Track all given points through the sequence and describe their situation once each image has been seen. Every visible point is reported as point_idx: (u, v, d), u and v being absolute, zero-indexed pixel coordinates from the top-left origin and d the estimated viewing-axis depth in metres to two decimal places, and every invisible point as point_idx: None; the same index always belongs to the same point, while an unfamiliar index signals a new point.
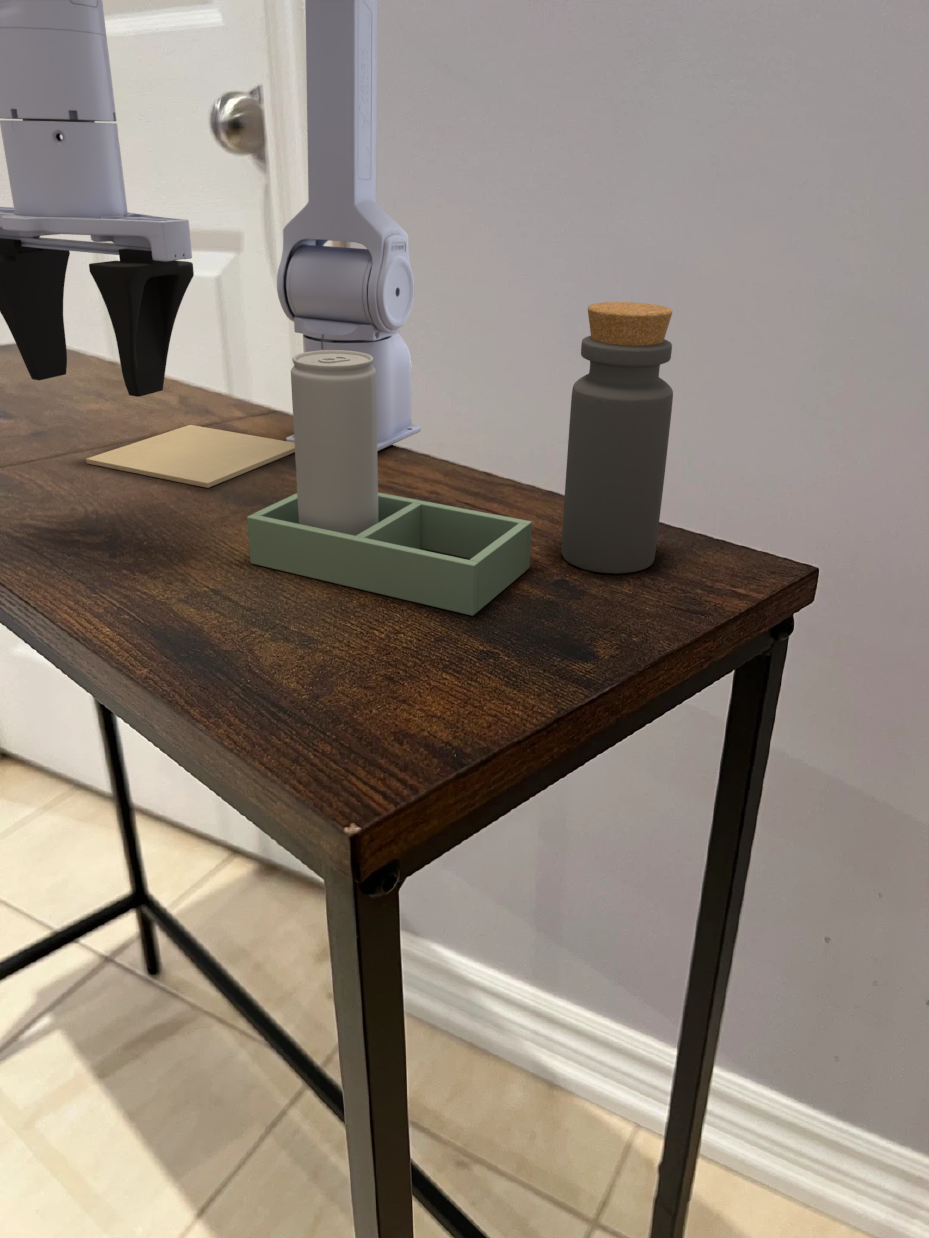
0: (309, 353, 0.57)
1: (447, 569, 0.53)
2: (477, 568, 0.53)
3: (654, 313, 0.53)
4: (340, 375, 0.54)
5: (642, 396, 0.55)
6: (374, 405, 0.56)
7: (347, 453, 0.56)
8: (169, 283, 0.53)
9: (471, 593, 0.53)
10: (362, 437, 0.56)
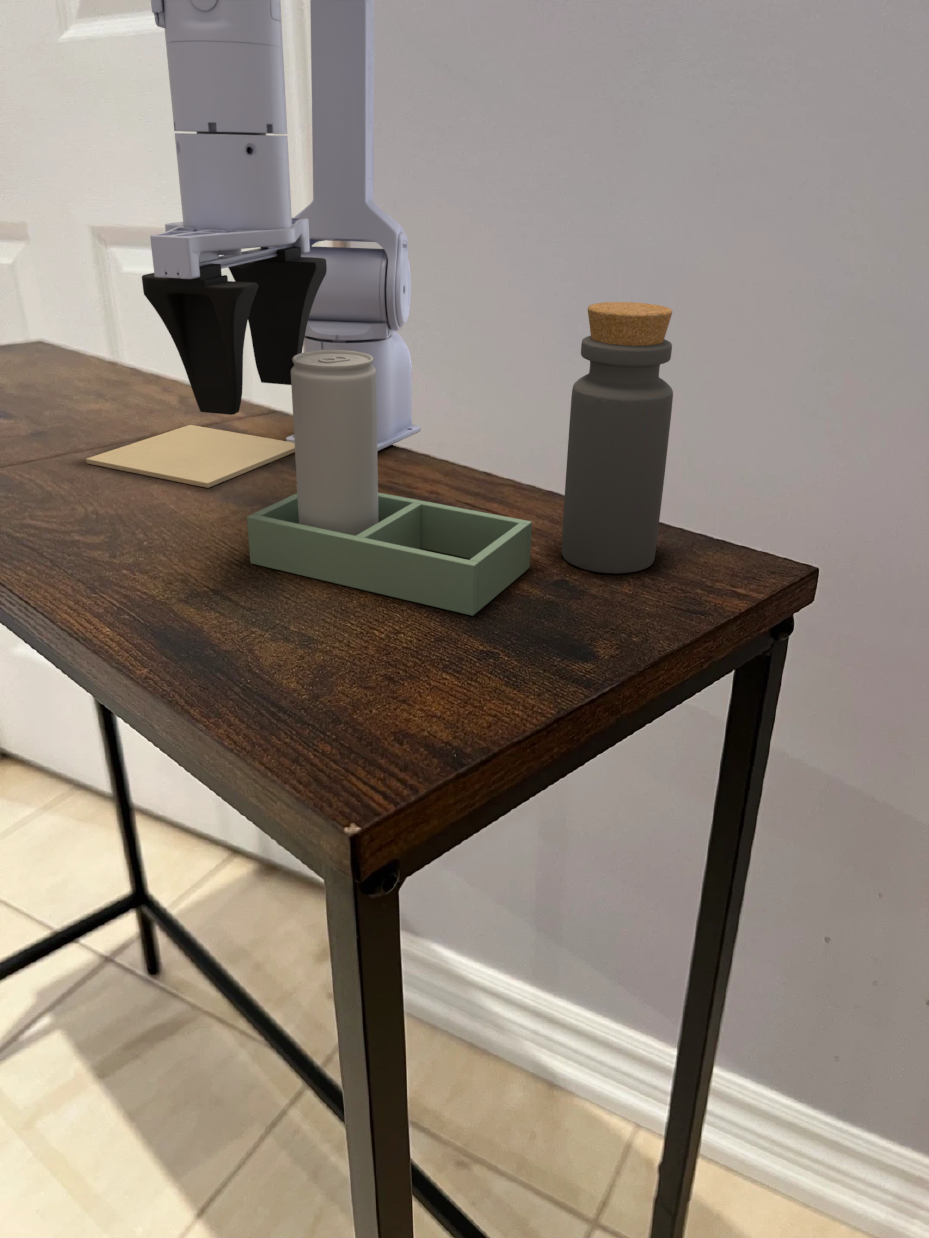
0: (309, 353, 0.57)
1: (447, 569, 0.53)
2: (477, 568, 0.53)
3: (654, 313, 0.53)
4: (341, 375, 0.54)
5: (642, 396, 0.55)
6: (374, 405, 0.56)
7: (347, 453, 0.56)
8: None
9: (471, 593, 0.53)
10: (363, 437, 0.56)
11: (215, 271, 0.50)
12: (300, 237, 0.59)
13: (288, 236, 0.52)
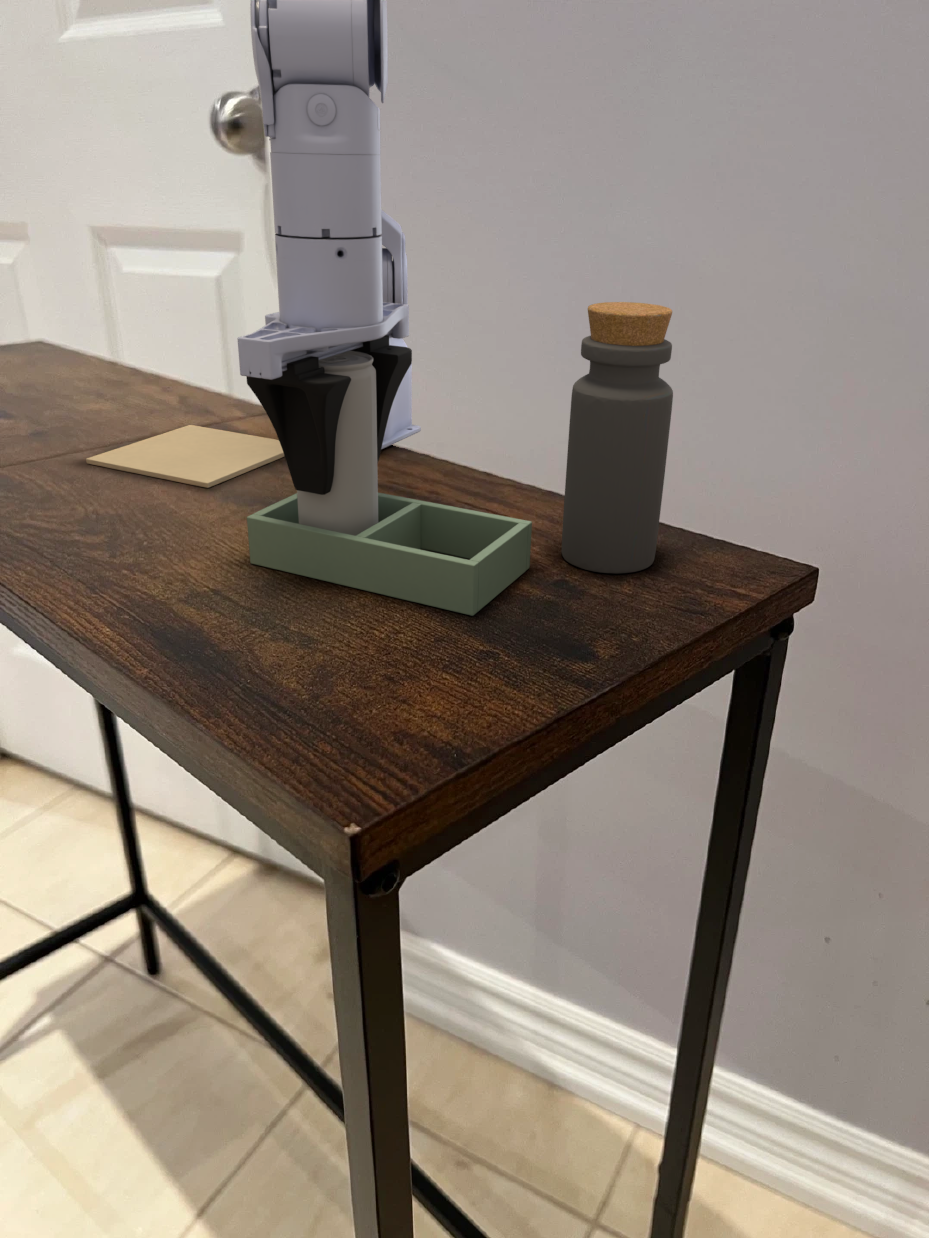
0: None
1: (447, 569, 0.53)
2: (477, 568, 0.53)
3: (654, 313, 0.53)
4: None
5: (642, 396, 0.55)
6: (374, 405, 0.56)
7: (347, 453, 0.56)
8: None
9: (471, 593, 0.53)
10: (362, 437, 0.56)
11: (312, 364, 0.53)
12: (399, 323, 0.60)
13: (376, 332, 0.54)
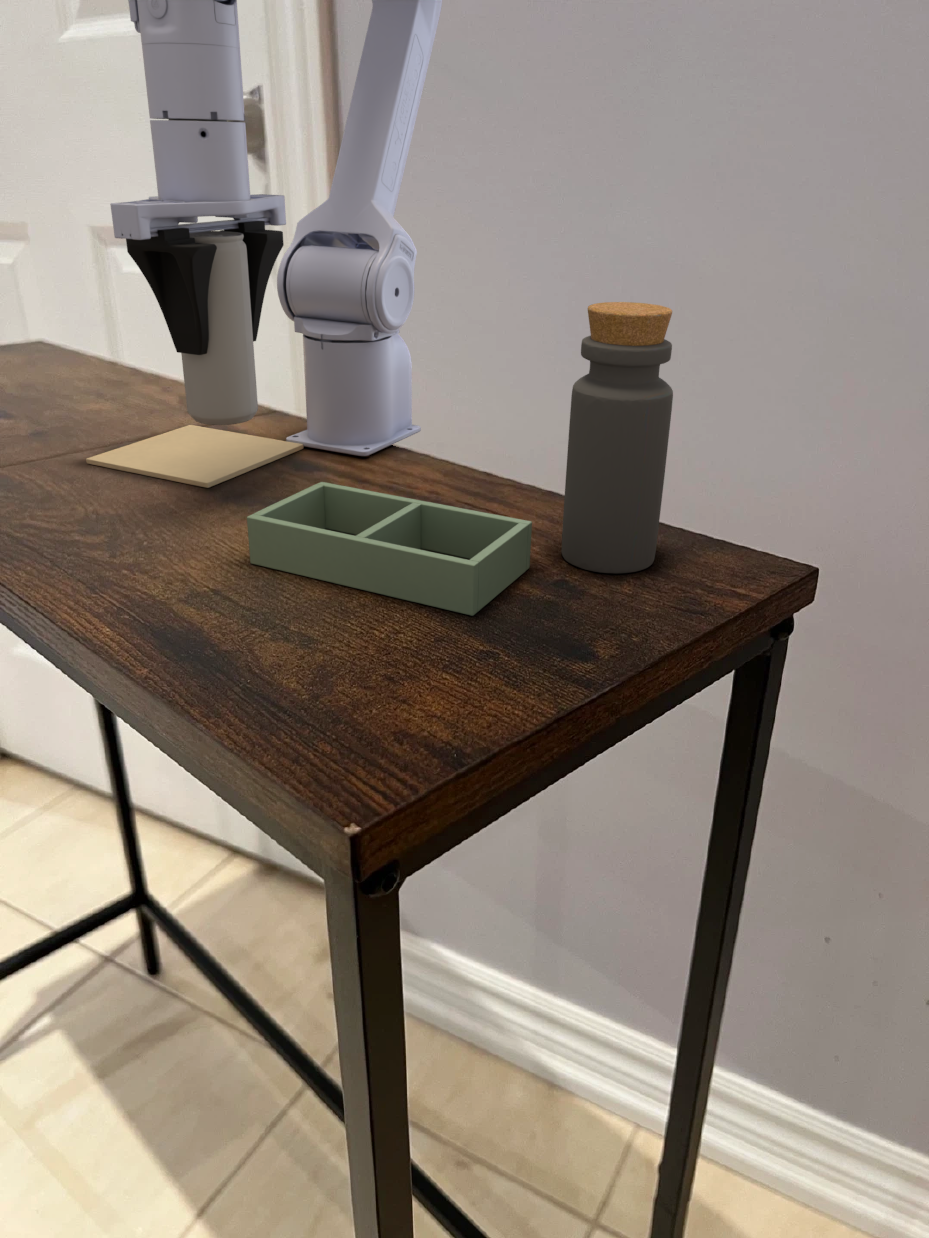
0: None
1: (447, 569, 0.53)
2: (477, 568, 0.53)
3: (654, 313, 0.53)
4: None
5: (642, 395, 0.55)
6: (245, 277, 0.64)
7: (219, 318, 0.64)
8: None
9: (471, 593, 0.53)
10: (234, 305, 0.64)
11: (182, 233, 0.60)
12: (274, 211, 0.68)
13: (240, 207, 0.61)
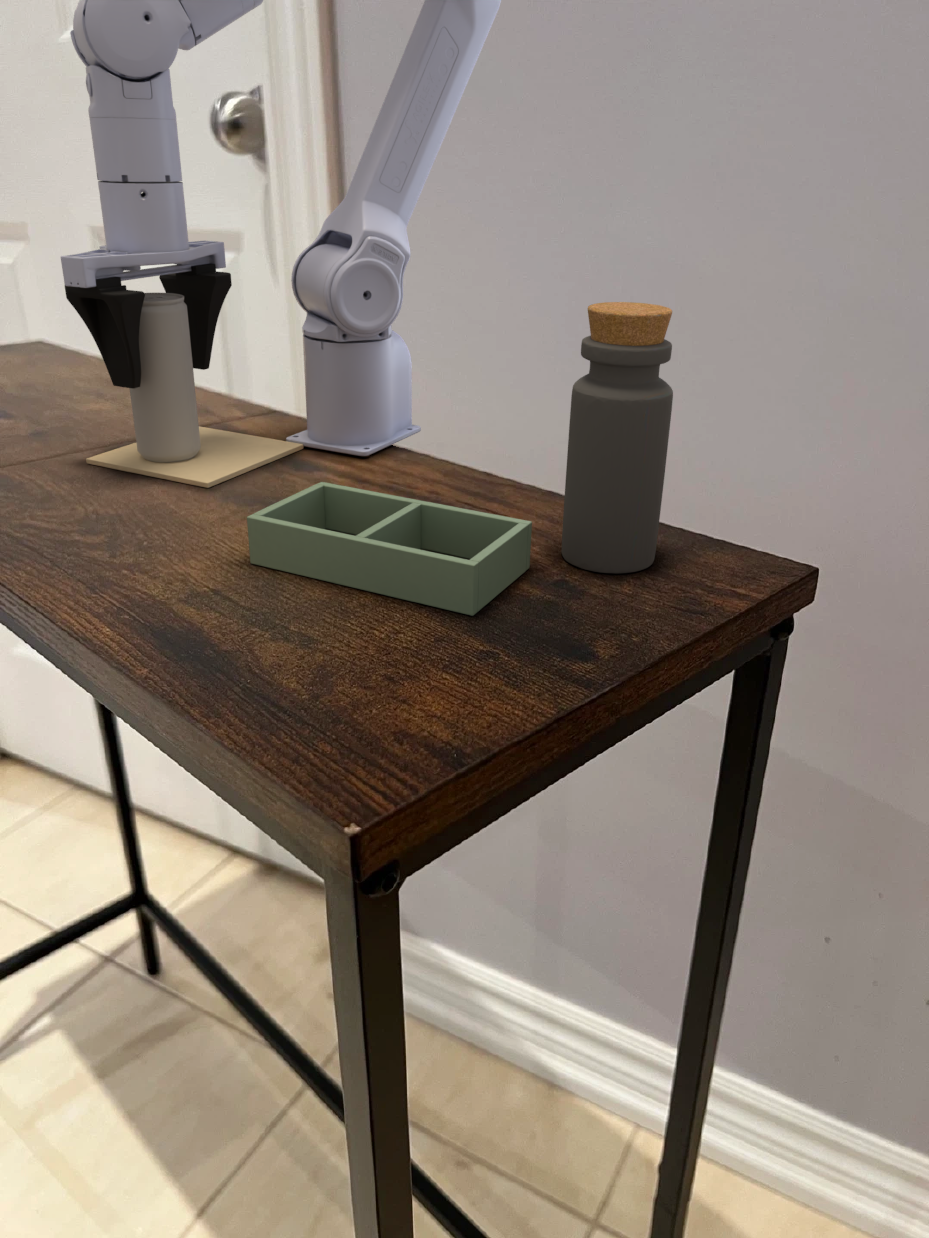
0: None
1: (447, 569, 0.53)
2: (477, 568, 0.53)
3: (654, 313, 0.53)
4: (153, 308, 0.71)
5: (642, 395, 0.55)
6: (185, 334, 0.73)
7: (162, 370, 0.73)
8: None
9: (471, 593, 0.53)
10: (175, 358, 0.73)
11: (114, 282, 0.68)
12: (214, 256, 0.76)
13: (178, 257, 0.70)
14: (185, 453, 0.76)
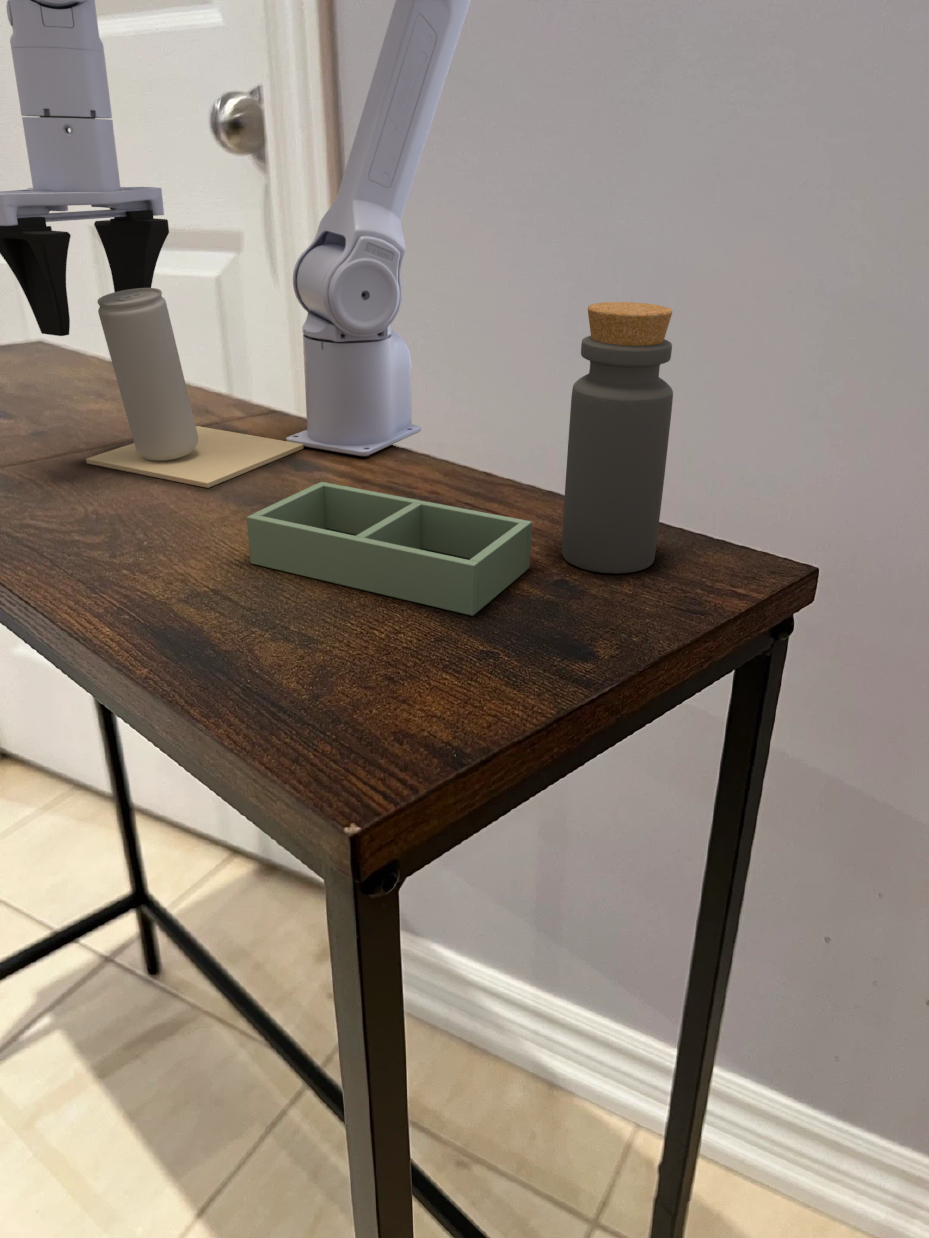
0: (115, 293, 0.73)
1: (447, 569, 0.53)
2: (477, 568, 0.53)
3: (654, 313, 0.53)
4: (131, 310, 0.70)
5: (642, 396, 0.55)
6: (167, 330, 0.72)
7: (149, 370, 0.72)
8: None
9: (471, 593, 0.53)
10: (160, 357, 0.72)
11: (38, 222, 0.65)
12: (151, 202, 0.73)
13: (107, 198, 0.67)
14: (183, 449, 0.76)
